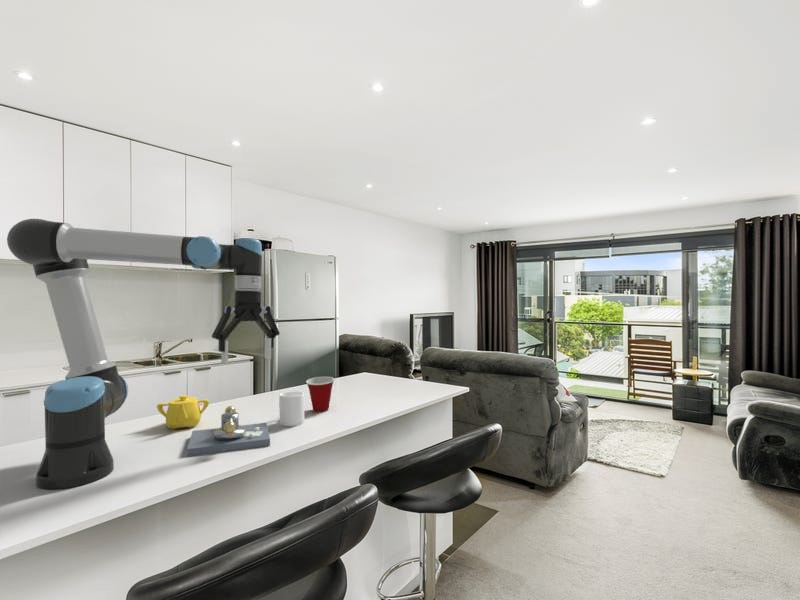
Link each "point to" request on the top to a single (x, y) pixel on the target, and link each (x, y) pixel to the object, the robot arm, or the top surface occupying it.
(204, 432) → the stand
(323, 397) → the plastic cup
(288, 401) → the cup
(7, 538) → the top surface
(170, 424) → the yellow sugar bowl
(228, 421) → the grey lever with knob
